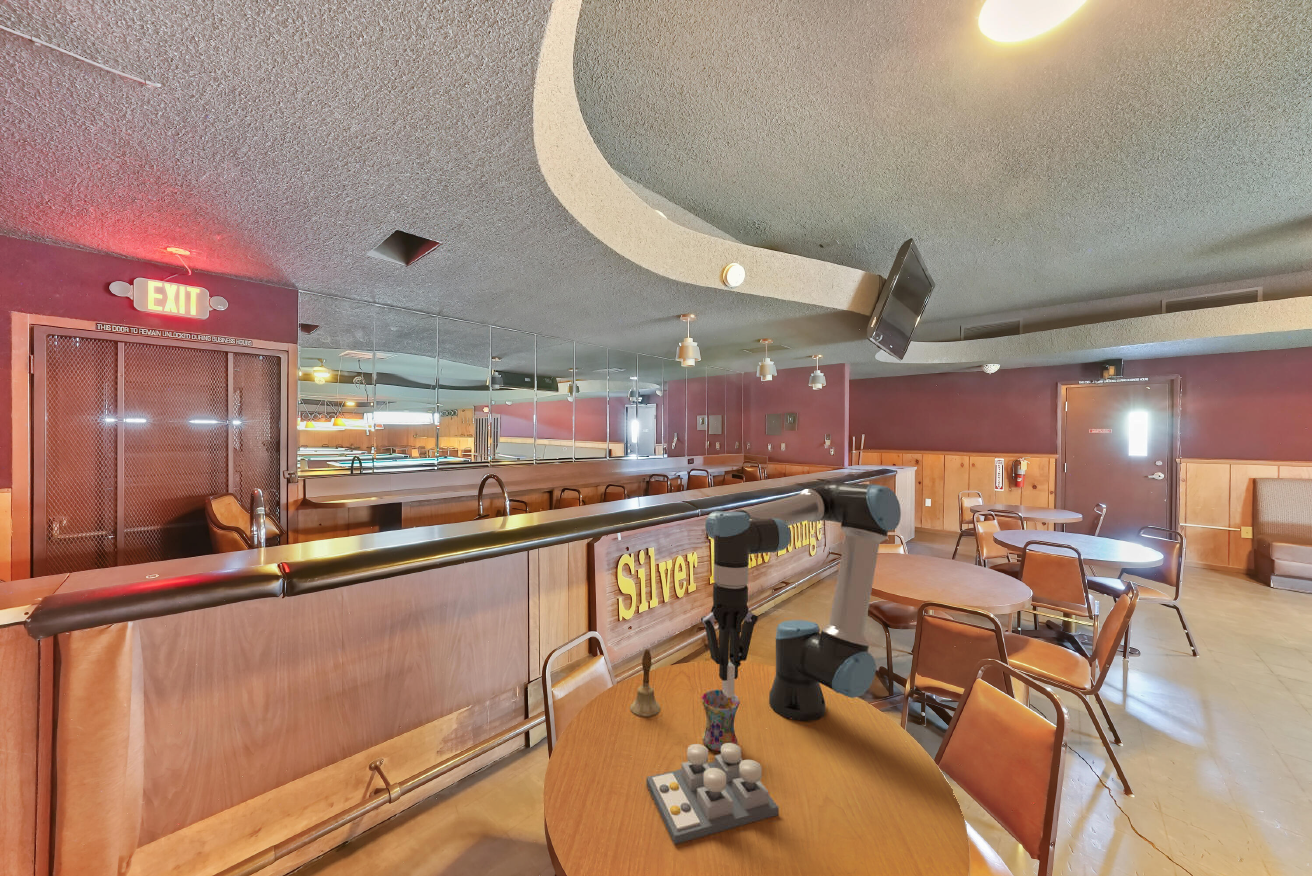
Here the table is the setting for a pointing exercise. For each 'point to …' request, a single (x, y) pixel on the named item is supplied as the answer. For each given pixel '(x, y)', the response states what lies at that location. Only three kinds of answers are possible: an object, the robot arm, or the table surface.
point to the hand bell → (645, 692)
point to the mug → (719, 719)
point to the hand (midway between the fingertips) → (728, 694)
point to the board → (707, 801)
